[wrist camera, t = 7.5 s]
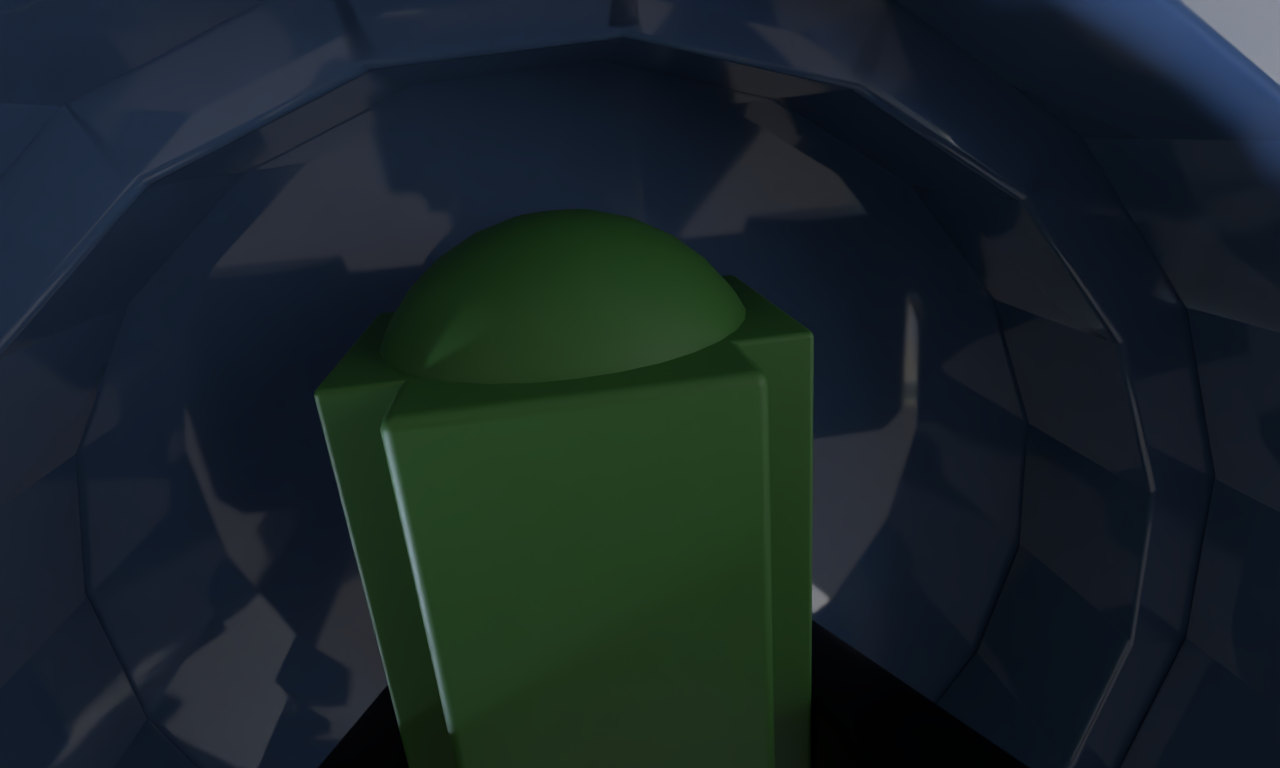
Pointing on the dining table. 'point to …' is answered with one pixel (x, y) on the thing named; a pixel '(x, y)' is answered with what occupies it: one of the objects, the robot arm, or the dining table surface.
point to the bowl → (734, 245)
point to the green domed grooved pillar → (583, 503)
